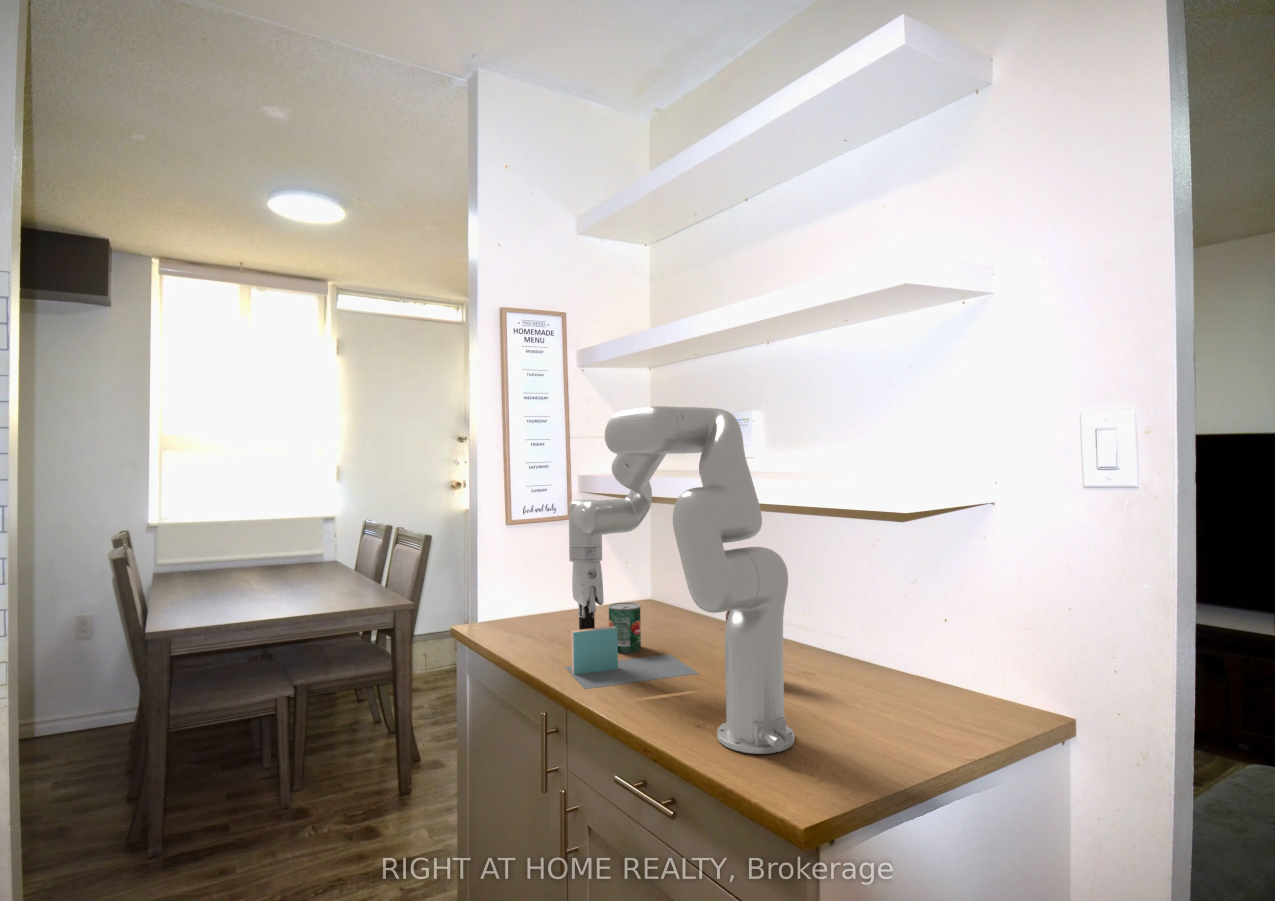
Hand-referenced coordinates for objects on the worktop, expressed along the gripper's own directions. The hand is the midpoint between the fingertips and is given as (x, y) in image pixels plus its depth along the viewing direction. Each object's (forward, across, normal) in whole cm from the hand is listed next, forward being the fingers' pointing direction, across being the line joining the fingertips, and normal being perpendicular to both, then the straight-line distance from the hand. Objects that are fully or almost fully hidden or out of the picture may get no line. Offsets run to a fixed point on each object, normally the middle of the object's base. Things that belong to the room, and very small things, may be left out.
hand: (586, 634), depth 156 cm
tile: (+6, -6, 0) cm, 9 cm away
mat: (+7, -9, -7) cm, 13 cm away
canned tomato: (+7, +8, -12) cm, 16 cm away
